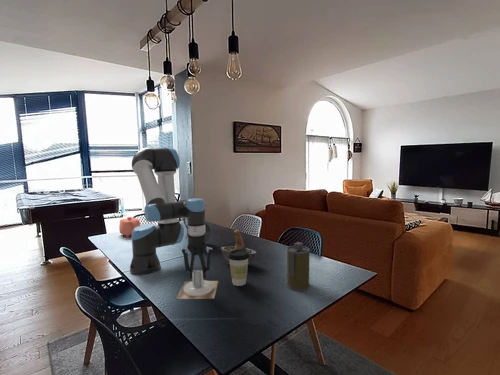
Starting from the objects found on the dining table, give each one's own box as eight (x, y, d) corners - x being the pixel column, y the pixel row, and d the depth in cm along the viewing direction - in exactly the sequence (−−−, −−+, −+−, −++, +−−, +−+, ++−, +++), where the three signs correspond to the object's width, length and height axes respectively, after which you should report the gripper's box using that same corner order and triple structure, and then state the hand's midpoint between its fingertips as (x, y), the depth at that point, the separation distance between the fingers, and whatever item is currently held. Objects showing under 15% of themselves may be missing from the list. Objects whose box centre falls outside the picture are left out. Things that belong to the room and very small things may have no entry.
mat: (175, 299, 110) (175, 298, 110) (184, 282, 126) (184, 281, 126) (214, 299, 110) (214, 298, 110) (218, 281, 126) (218, 280, 126)
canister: (293, 278, 129) (294, 238, 127) (313, 284, 122) (314, 242, 120) (281, 286, 121) (281, 244, 118) (302, 294, 114) (302, 249, 112)
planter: (220, 262, 150) (219, 227, 148) (248, 258, 156) (247, 224, 154) (227, 272, 136) (227, 234, 134) (257, 267, 142) (257, 231, 140)
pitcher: (213, 245, 180) (212, 201, 177) (188, 251, 168) (186, 205, 164) (205, 241, 188) (204, 199, 185) (180, 247, 176) (178, 202, 172)
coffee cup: (247, 289, 119) (246, 257, 117) (226, 287, 120) (225, 255, 119) (251, 279, 128) (251, 249, 126) (231, 277, 130) (231, 248, 128)
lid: (180, 296, 112) (179, 278, 111) (187, 282, 125) (186, 265, 124) (211, 296, 112) (210, 277, 111) (214, 282, 125) (214, 265, 124)
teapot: (116, 233, 209) (115, 216, 208) (132, 230, 218) (131, 213, 217) (127, 239, 194) (126, 220, 193) (144, 235, 203) (143, 217, 202)
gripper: (175, 236, 112) (178, 289, 114) (214, 236, 112) (215, 289, 114) (180, 231, 119) (182, 281, 122) (216, 231, 119) (217, 281, 122)
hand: (198, 285), depth 118 cm, fingers closed on lid, 3 cm apart
